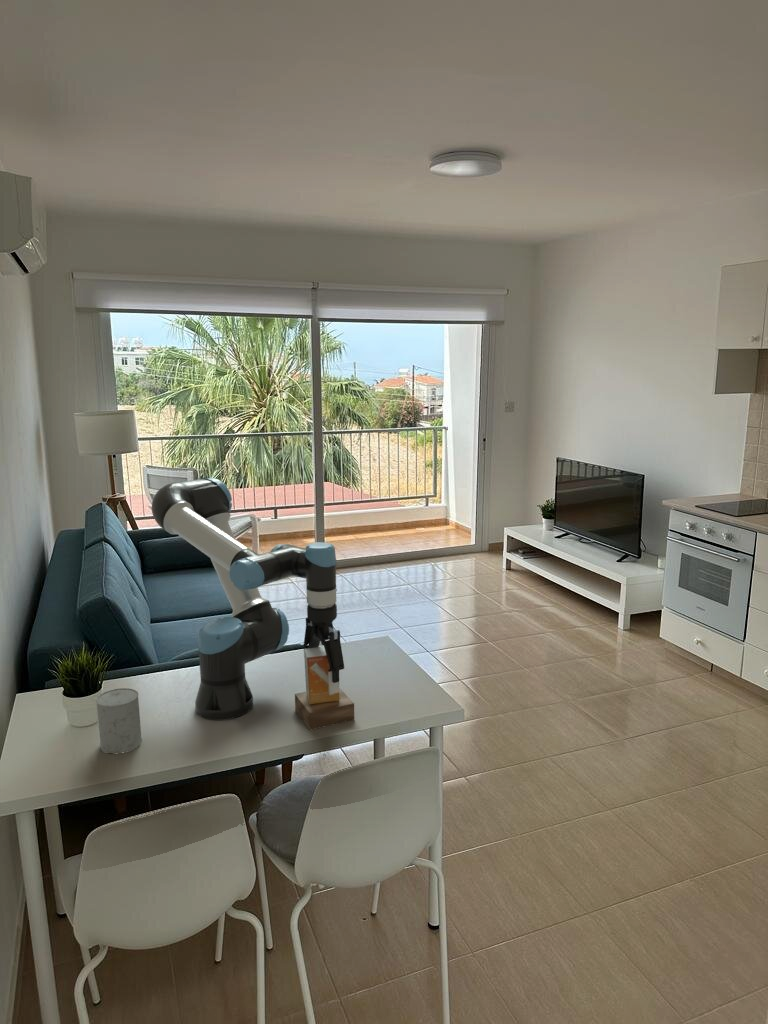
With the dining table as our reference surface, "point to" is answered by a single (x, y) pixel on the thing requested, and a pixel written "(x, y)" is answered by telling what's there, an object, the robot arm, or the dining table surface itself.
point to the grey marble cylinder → (119, 720)
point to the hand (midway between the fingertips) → (323, 685)
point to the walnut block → (324, 710)
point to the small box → (317, 676)
